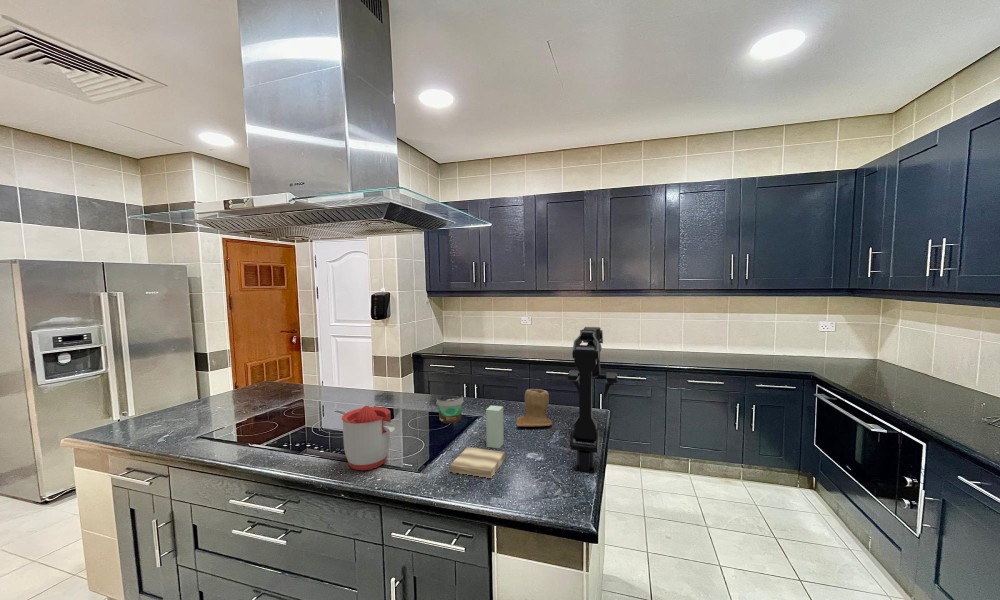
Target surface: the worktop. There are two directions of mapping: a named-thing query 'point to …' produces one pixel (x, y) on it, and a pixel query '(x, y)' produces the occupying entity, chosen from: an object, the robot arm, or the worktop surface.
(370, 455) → the citrus juicer
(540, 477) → the worktop surface
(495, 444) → the sage block
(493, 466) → the birch base
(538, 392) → the stone cup
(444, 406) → the food container
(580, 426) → the robot arm
